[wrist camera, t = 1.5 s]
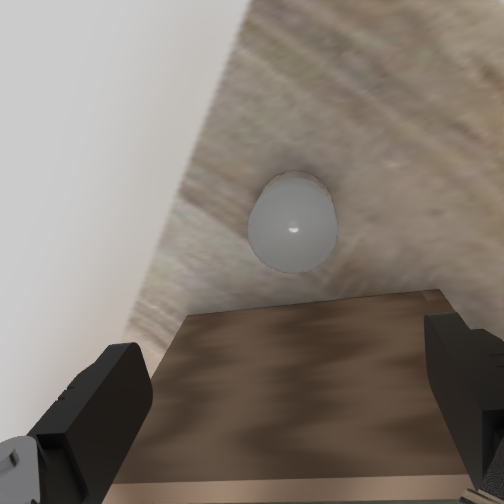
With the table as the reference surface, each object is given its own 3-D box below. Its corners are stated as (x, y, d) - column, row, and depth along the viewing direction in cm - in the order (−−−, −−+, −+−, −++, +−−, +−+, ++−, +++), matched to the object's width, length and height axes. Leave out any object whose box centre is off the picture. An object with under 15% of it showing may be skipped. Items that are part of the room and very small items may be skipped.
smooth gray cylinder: (327, 164, 26) (332, 179, 21) (336, 237, 28) (343, 267, 23) (252, 177, 27) (239, 194, 22) (265, 247, 29) (256, 278, 24)
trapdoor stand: (439, 289, 28) (569, 471, 14) (446, 480, 34) (545, 748, 20) (187, 315, 31) (90, 484, 17) (231, 485, 37) (185, 718, 23)
